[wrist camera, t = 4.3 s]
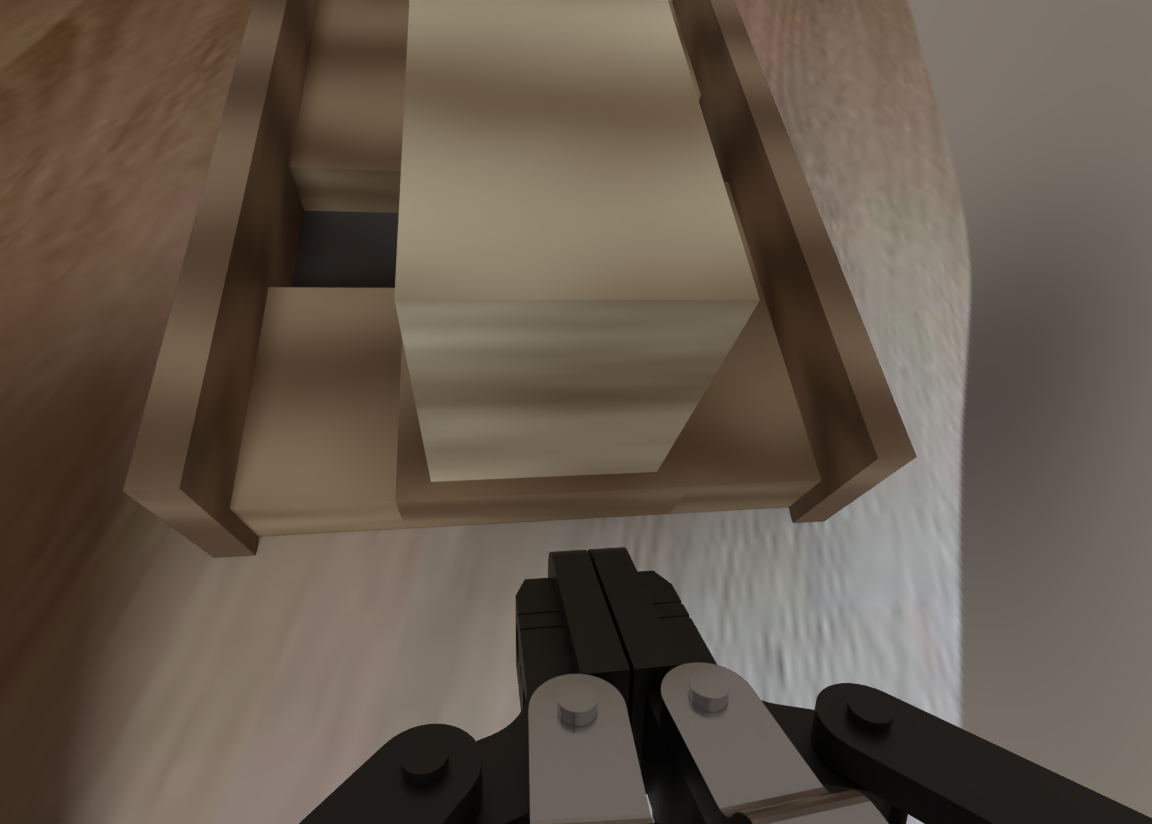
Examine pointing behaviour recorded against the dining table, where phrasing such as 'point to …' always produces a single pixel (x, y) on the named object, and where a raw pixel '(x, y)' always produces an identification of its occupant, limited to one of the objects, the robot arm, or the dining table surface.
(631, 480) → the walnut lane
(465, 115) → the beech block
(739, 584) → the dining table surface
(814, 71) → the dining table surface
